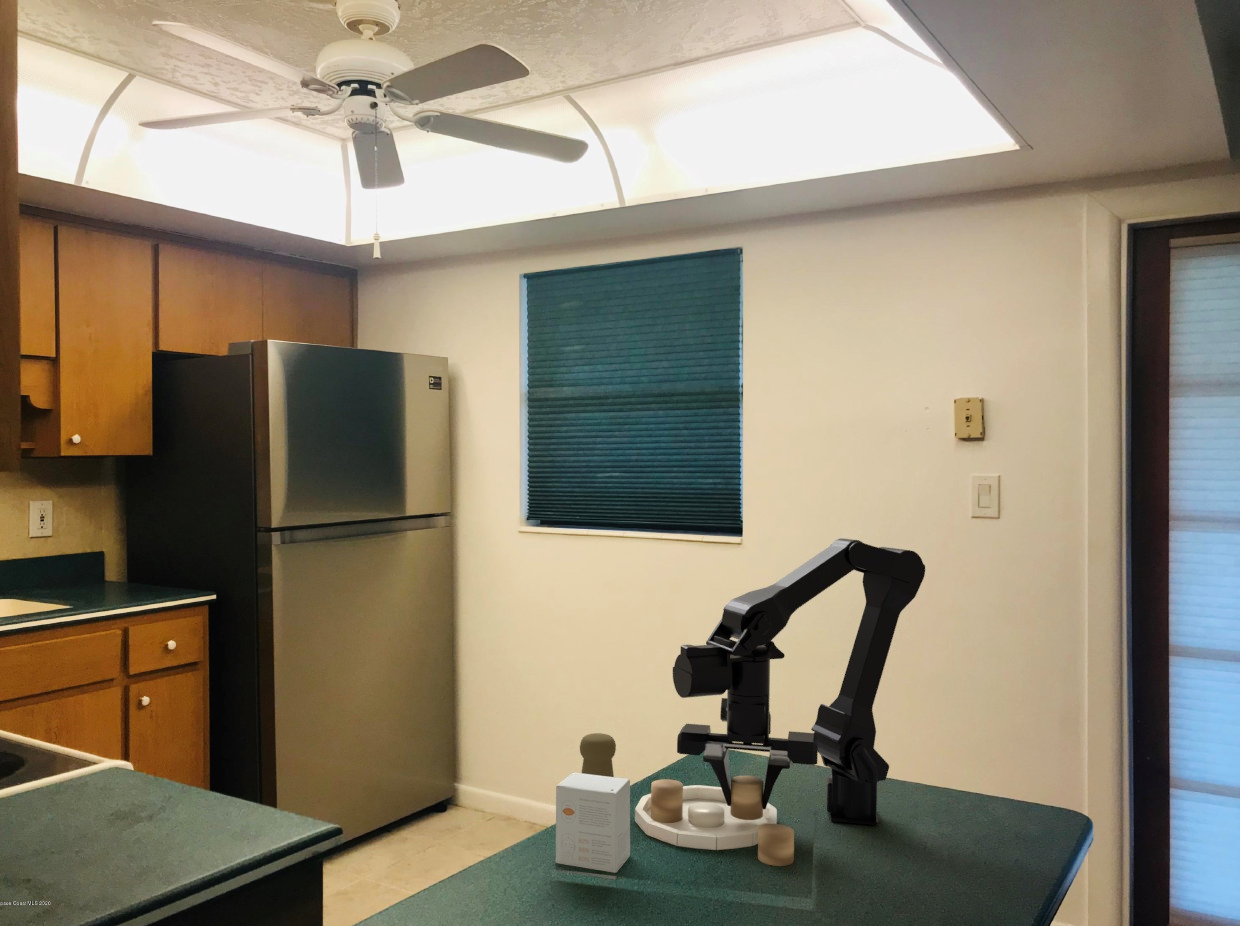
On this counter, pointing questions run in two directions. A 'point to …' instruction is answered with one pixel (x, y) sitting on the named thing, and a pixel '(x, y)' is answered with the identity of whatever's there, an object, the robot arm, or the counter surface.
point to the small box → (593, 823)
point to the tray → (703, 835)
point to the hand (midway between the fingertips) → (746, 806)
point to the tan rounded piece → (747, 797)
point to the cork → (597, 754)
